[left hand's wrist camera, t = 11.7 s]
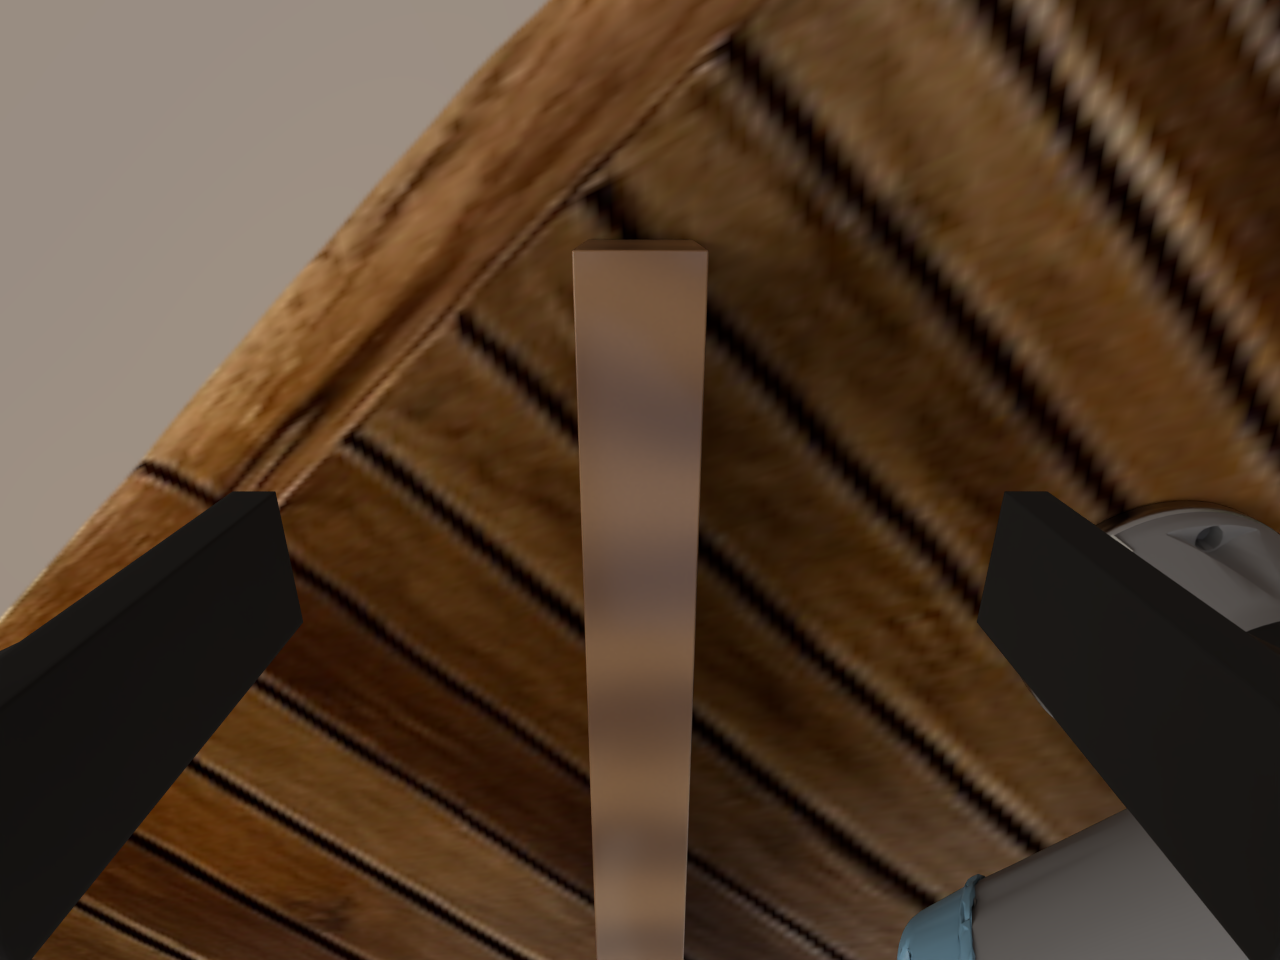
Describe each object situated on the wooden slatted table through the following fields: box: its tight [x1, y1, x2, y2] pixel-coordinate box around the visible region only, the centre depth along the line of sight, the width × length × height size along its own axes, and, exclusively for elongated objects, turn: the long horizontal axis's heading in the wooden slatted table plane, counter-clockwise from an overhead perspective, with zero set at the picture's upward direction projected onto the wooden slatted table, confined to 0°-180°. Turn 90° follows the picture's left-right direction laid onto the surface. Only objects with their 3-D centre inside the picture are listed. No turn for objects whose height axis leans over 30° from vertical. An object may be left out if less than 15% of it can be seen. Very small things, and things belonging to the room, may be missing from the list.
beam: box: [572, 240, 709, 960], centre depth 40 cm, size 59×5×8 cm, turn 0°
